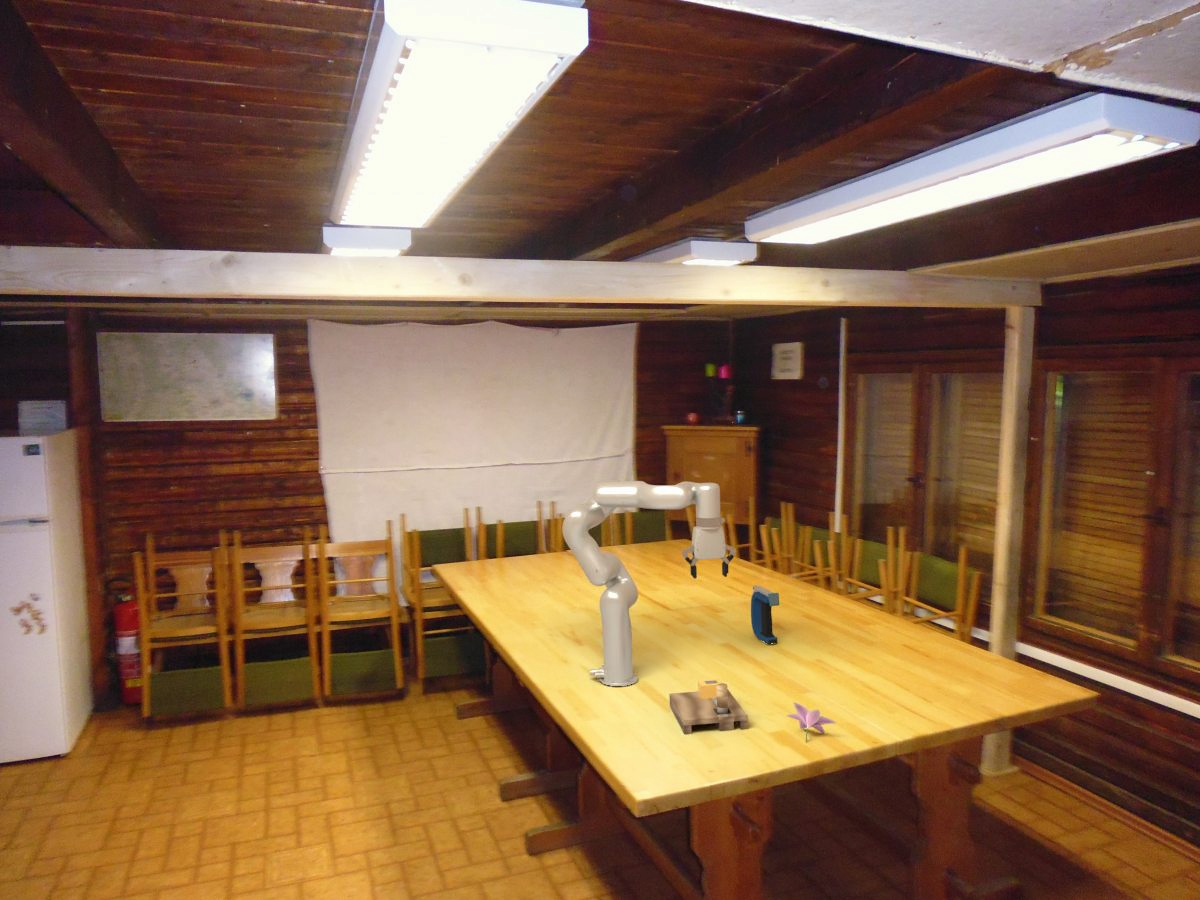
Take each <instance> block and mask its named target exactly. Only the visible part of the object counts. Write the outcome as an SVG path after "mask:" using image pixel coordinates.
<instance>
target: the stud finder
mask: <svg viewBox="0 0 1200 900" xmlns="http://www.w3.org/2000/svg"><path fill="white" fill-rule="evenodd" d="M720 683H724V684H725V682H724V681H723V679H722V678H713V679H712V678H711V679H710V678H709V679H700V680H699V679H698V680H697V691H698V694H699V695H700V697H701V698H702V699H709V698H717V684H720Z"/></svg>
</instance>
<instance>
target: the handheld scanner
mask: <svg viewBox="0 0 1200 900" xmlns="http://www.w3.org/2000/svg"><path fill="white" fill-rule="evenodd" d="M751 595H752V596H751V600H750V618H751V619H750V621H751V622H750V623H751V628H752V632H753V634H754V636H755V637H757V638H759V639H760V640H762V641H764V642H765V643H767V644H771V643H777V644H778V637H777V636H776V635H774V634H773V617H772V607H776V606H777V607H778V606H780V594H779V592H773V591H771V590H769V589H767V588H766V587H763V586H761V585H753V587H752V594H751ZM757 638H756V639H757ZM759 639H758V640H759ZM760 640H759V641H760ZM762 641H761V642H762ZM765 643H764V644H765ZM767 644H766V645H767Z"/></svg>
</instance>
